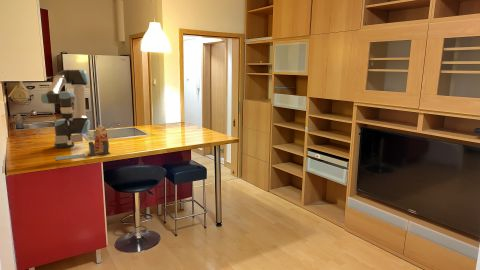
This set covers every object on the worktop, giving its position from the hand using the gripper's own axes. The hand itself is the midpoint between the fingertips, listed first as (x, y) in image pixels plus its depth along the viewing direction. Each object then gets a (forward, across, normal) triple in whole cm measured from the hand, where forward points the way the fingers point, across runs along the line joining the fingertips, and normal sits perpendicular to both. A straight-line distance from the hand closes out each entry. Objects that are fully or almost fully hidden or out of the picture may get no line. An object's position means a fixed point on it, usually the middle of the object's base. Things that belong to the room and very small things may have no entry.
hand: (69, 144), depth 249 cm
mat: (+10, 0, 0) cm, 10 cm away
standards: (+10, 0, +20) cm, 23 cm away
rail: (-1, 0, 0) cm, 1 cm away
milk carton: (+10, -16, +25) cm, 32 cm away
